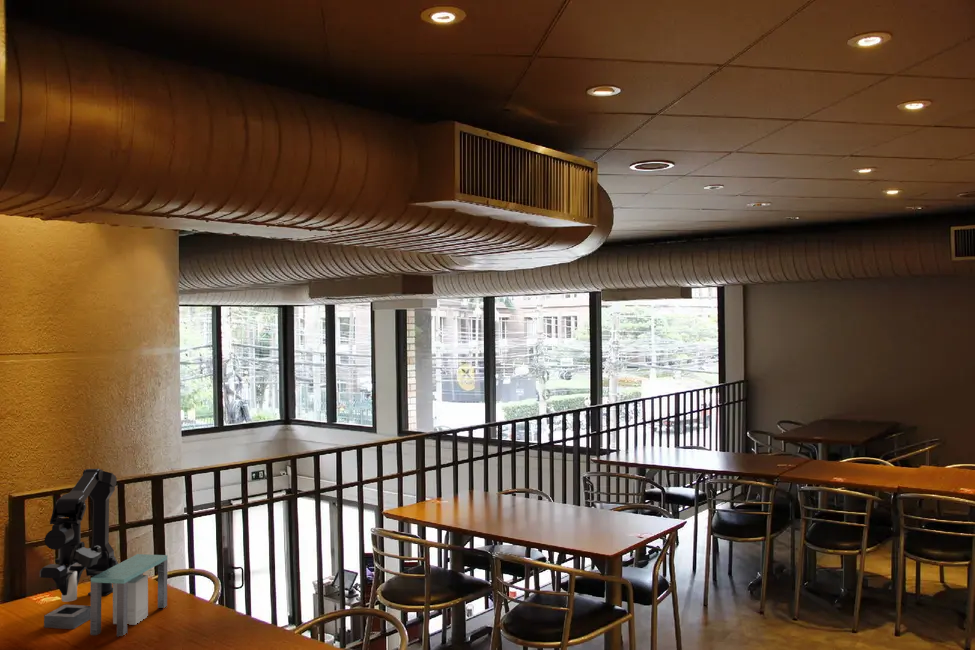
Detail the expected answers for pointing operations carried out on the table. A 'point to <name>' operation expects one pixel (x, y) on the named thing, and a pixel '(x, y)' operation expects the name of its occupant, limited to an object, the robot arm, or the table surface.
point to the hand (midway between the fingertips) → (69, 592)
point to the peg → (71, 588)
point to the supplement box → (134, 600)
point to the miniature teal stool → (126, 588)
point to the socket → (67, 617)
